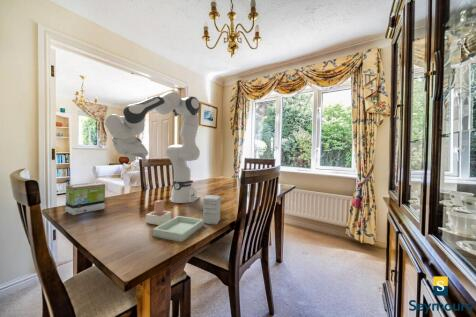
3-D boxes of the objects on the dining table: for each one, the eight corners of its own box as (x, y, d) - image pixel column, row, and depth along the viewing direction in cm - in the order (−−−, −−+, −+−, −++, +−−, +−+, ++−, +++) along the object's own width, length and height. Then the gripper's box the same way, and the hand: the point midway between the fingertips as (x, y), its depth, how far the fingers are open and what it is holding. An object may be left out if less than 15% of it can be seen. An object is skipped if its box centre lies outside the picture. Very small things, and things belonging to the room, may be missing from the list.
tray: (178, 221, 99) (178, 215, 99) (203, 225, 95) (203, 219, 95) (152, 236, 82) (152, 229, 82) (182, 242, 78) (182, 234, 78)
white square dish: (157, 217, 104) (157, 209, 104) (171, 219, 102) (171, 211, 101) (145, 222, 96) (145, 214, 96) (160, 225, 94) (160, 216, 93)
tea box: (73, 215, 102) (74, 187, 101) (65, 212, 107) (65, 184, 106) (105, 208, 115) (105, 183, 114) (96, 205, 120) (96, 181, 119)
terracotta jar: (158, 219, 102) (158, 199, 101) (165, 220, 100) (165, 200, 100) (152, 221, 97) (152, 201, 97) (159, 223, 96) (160, 202, 96)
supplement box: (206, 218, 105) (207, 194, 105) (220, 219, 104) (221, 195, 104) (202, 223, 98) (203, 197, 98) (216, 224, 97) (217, 199, 97)
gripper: (115, 132, 94) (130, 155, 92) (142, 140, 114) (155, 159, 112) (105, 141, 95) (120, 163, 92) (134, 147, 115) (147, 166, 112)
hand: (140, 161), depth 102 cm, fingers open, 8 cm apart
